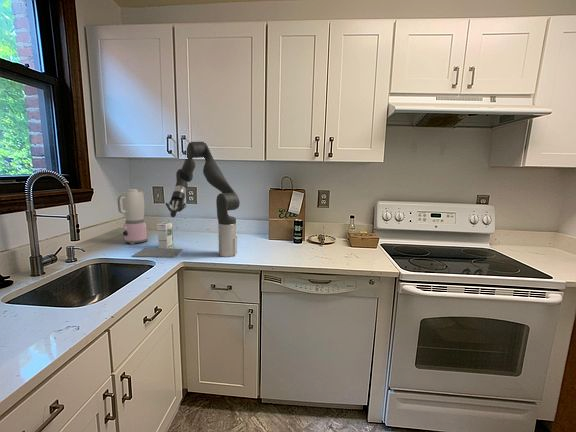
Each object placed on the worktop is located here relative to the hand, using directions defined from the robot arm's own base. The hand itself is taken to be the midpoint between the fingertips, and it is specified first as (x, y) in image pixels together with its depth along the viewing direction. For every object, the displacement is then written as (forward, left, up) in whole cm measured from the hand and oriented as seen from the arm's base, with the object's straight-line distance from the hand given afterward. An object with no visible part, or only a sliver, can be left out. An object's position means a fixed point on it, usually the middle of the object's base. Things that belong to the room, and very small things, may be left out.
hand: (172, 216), depth 173 cm
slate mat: (0, +22, -16) cm, 27 cm away
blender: (+23, +2, -16) cm, 28 cm away
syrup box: (0, +11, -16) cm, 20 cm away
